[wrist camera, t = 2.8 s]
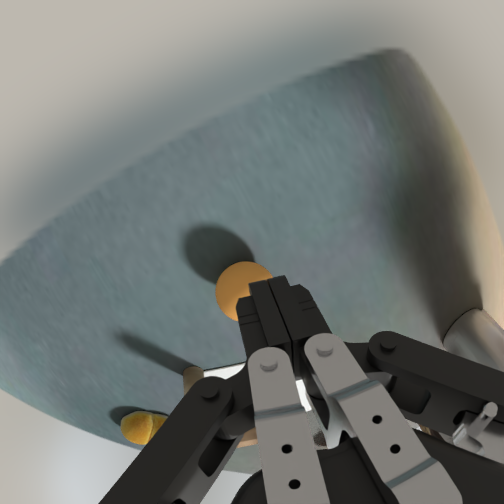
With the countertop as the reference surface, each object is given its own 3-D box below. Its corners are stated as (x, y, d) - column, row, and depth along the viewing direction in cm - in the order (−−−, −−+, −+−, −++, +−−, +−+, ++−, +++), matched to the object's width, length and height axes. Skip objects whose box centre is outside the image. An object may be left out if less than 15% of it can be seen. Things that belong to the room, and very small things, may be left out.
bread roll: (124, 404, 39) (123, 427, 36) (183, 414, 42) (185, 437, 39) (117, 428, 42) (116, 449, 39) (170, 438, 45) (171, 458, 42)
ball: (265, 245, 30) (281, 277, 26) (271, 291, 33) (285, 326, 28) (207, 257, 30) (212, 292, 25) (218, 302, 33) (225, 340, 28)
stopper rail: (304, 413, 47) (309, 425, 45) (304, 418, 48) (309, 430, 46) (221, 432, 46) (223, 445, 44) (223, 437, 47) (225, 449, 45)
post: (201, 364, 37) (208, 427, 29) (206, 377, 38) (214, 438, 30) (180, 368, 36) (184, 431, 29) (186, 380, 38) (191, 441, 30)
